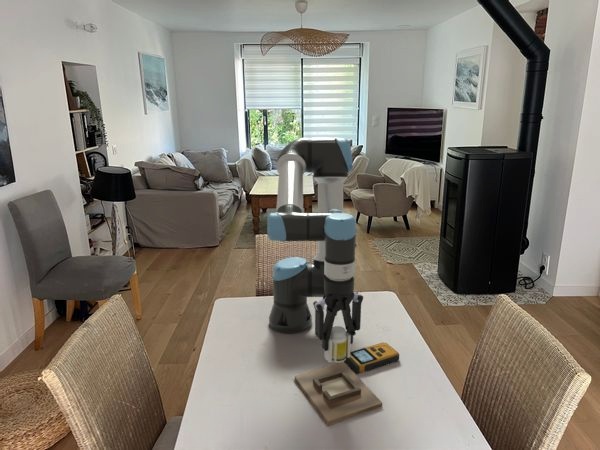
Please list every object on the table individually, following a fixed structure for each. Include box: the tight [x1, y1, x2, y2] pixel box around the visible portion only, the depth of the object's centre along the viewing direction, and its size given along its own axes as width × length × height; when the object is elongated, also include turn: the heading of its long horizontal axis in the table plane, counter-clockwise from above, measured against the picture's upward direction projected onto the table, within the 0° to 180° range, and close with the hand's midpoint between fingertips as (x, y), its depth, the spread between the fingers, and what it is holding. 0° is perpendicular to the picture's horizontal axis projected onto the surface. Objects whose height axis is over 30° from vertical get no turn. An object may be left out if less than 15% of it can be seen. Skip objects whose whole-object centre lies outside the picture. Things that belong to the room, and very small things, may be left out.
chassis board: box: [293, 362, 383, 426], centre depth 119 cm, size 20×16×3 cm
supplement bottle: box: [330, 325, 347, 364], centre depth 115 cm, size 5×5×8 cm
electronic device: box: [344, 342, 400, 375], centre depth 133 cm, size 8×16×3 cm, turn 116°
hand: (337, 357), depth 116 cm, fingers closed on supplement bottle, 5 cm apart
